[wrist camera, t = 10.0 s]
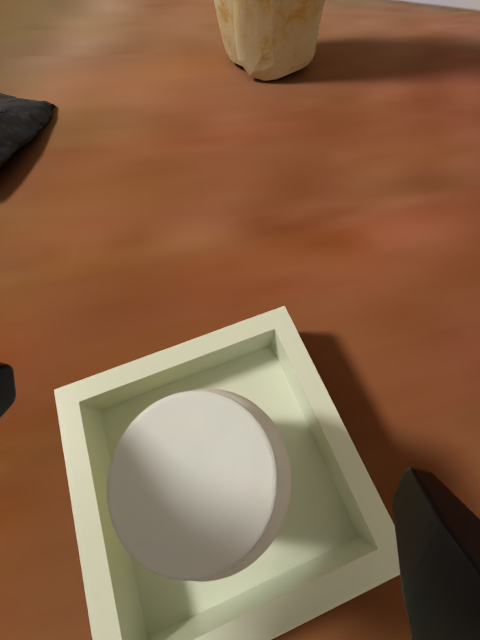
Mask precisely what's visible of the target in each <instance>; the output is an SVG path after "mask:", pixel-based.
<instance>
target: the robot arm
mask: <svg viewBox="0 0 480 640" xmlns="http://www.w3.org/2000/svg"><path fill="white" fill-rule="evenodd" d="M15 398H16V388H15V379H14V371H13V368H12V367H11V366H10V365H8V364H5V363H1V362H0V418H1V417H2V415H3V414H4V413H5V412H6V411H7V410H8V409H9V408H10V407H11V405H12V404H13V402H14V401H15ZM393 515H394V524H395V533H396V541H397V550H398V559H399V568H400V577H401V584H402V591H403V596H404V602H405V607H406V611H407V616H408V621H409V626H410V630H411V635H412V640H480V519H479V518H478V517H477V516H476V515H475V514H474V513H473V512H472V511H471V510H470V509H469V508H468V507H466V506H465V505H464V504H463V503H462V502H461V501H460V500H459V499H458V498H457V497H456V496H455V495H454V494H453V493H452V492H451V491H450V490H449V489H448V488H447V487H446V486H445V485H444V484H443V483H442V482H441V481H440V480H439V479H438V478H437V477H436V476H435V475H434V474H432V473H431V472H429V471H427V470H423V469H419V468H415V467H409V468H407V469H406V470H405V472H404V474H403V476H402V478H401V480H400V483H399V485H398V487H397V489H396V491H395V494H394V497H393Z"/></svg>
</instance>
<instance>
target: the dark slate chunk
mask: <svg viewBox="0 0 480 640" xmlns="http://www.w3.org/2000/svg"><path fill="white" fill-rule="evenodd" d="M54 107H55V105H53V104H51V103H49V102H46V101H36V100H28V99H20V98H16V97H14V96H9V95H6V94H2V93H0V167H1V165H2V164H3V163H5V162H6V161H7V160H8V159H9V158H10V157H11V156H12V155H13V154H14V152H15V151H17V150H18V149H20V148H21V147H22V146H24V145H25V144H27V143H28V142H30V140H31V139H32V138H33V137H35V135H36V134H37V133H38V132H39V131H40V130H41V129H42V128H43V127H45V126H46V125H47V124H48V122H49V118H50V117H51V115H52V112H51V109H53V108H54Z"/></svg>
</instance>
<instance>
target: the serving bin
mask: <svg viewBox="0 0 480 640" xmlns="http://www.w3.org/2000/svg"><path fill="white" fill-rule="evenodd" d="M198 389H220V390H225V391H229V392H233V393H236V394H238V395H240V396H243V397H245V398H247V399H248V400H250V401H252V402H253V403H254V404H256V405H257V406H258V407H259V408H261V409H262V410H263V411H264V412H265V413H266V414H267V415H268V416H269V417H270V419H271V420H272V421H273V423H274V424H275V426H276V427H277V429H278V430H279V432H280V434H281V436H282V438H283V441H284V443H285V446H286V449H287V452H288V456H289V460H290V466H291V478H292V483H291V495H290V501H289V506H288V510H287V513H286V516H285V519H284V521H283V524H282V526H281V528H280V530H279V532H278V534H277V536H276V537H275V539H274V541H273V542H272V543H271V545H270V546H269V547H268V549H267V550H266V551H265V552H264V553H263V554H262V555H261V556H260V557H259V558H258V559H257V560H256V561H255V562H253V563H252V564H251V565H250V566H248V567H247V568H245V569H244V570H242V571H240V572H238V573H236V574H234V575H232V576H229V577H226V578H223V579H219V580H214V581H205V582H198V581H181V580H174V579H169V578H166V577H163V576H160V575H157V574H155V573H153V572H151V571H149V570H148V569H146V568H144V567H143V566H142V565H141V564H139V563H138V562H137V561H136V560H135V559H134V558H133V557H132V556H131V555H130V554H129V553H128V551H127V550H126V549H125V548H124V546H123V545H122V543H121V542H120V540H119V538H118V536H117V534H116V532H115V529H114V527H113V524H112V521H111V517H110V514H109V509H108V502H107V479H108V473H109V468H110V464H111V460H112V457H113V455H114V452H115V449H116V447H117V445H118V443H119V441H120V439H121V437H122V435H123V434H124V432H125V431H126V429H127V428H128V427H129V425H130V424H131V423H132V422H133V420H134V419H135V418H136V417H137V416H138V415H139V414H140V413H142V412H143V411H144V410H145V409H146V408H148V407H149V406H150V405H152V404H153V403H155V402H157V401H159V400H161V399H163V398H165V397H167V396H170V395H172V394H175V393H180V392H184V391H192V390H198ZM54 392H55V399H56V405H57V412H58V418H59V425H60V431H61V438H62V444H63V451H64V457H65V464H66V470H67V477H68V483H69V490H70V497H71V503H72V510H73V516H74V523H75V529H76V536H77V542H78V549H79V555H80V562H81V568H82V575H83V581H84V588H85V594H86V601H87V607H88V614H89V620H90V627H91V633H92V640H272V639H274V638H276V637H278V636H280V635H282V634H284V633H286V632H288V631H290V630H292V629H294V628H295V627H297V626H299V625H301V624H303V623H305V622H307V621H309V620H311V619H313V618H315V617H317V616H319V615H321V614H323V613H325V612H327V611H329V610H331V609H333V608H335V607H337V606H339V605H341V604H343V603H345V602H347V601H349V600H351V599H353V598H355V597H357V596H359V595H361V594H362V593H364V592H366V591H368V590H370V589H372V588H374V587H376V586H378V585H380V584H382V583H384V582H386V581H388V580H390V579H392V578H394V577H396V576H398V575H400V568H399V559H398V550H397V541H396V533H395V526H394V524H393V522H392V520H391V518H390V516H389V514H388V512H387V510H386V508H385V506H384V504H383V502H382V500H381V498H380V496H379V494H378V492H377V490H376V488H375V486H374V484H373V482H372V480H371V478H370V476H369V474H368V472H367V470H366V468H365V466H364V464H363V462H362V460H361V458H360V456H359V454H358V452H357V450H356V448H355V446H354V444H353V442H352V440H351V438H350V436H349V434H348V432H347V430H346V428H345V426H344V424H343V422H342V420H341V418H340V416H339V414H338V412H337V410H336V408H335V406H334V404H333V402H332V400H331V398H330V396H329V394H328V392H327V390H326V388H325V386H324V384H323V382H322V380H321V378H320V376H319V374H318V372H317V370H316V368H315V366H314V364H313V362H312V360H311V358H310V356H309V354H308V352H307V350H306V348H305V346H304V344H303V342H302V340H301V338H300V336H299V334H298V332H297V330H296V328H295V326H294V324H293V322H292V320H291V318H290V316H289V314H288V312H287V310H286V308H285V306H282V307H280V308H277V309H274V310H272V311H269V312H266V313H263V314H261V315H258V316H255V317H252V318H250V319H247V320H244V321H241V322H239V323H236V324H233V325H230V326H228V327H225V328H222V329H219V330H217V331H214V332H211V333H209V334H206V335H203V336H200V337H198V338H195V339H192V340H189V341H187V342H184V343H181V344H178V345H176V346H173V347H170V348H167V349H165V350H162V351H159V352H156V353H154V354H151V355H148V356H146V357H143V358H140V359H137V360H135V361H132V362H129V363H126V364H124V365H121V366H118V367H115V368H113V369H110V370H107V371H104V372H102V373H99V374H96V375H93V376H91V377H88V378H85V379H83V380H80V381H77V382H74V383H72V384H69V385H66V386H63V387H61V388H58V389H55V390H54Z"/></svg>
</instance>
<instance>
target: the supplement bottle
mask: <svg viewBox="0 0 480 640" xmlns="http://www.w3.org/2000/svg"><path fill="white" fill-rule="evenodd" d="M291 483H292V478H291V466H290V460H289V456H288V452H287V449H286V446H285V443H284V441H283V438H282V436H281V434H280V432H279V430H278V429H277V427H276V426H275V424H274V423H273V421H272V420H271V419H270V417H269V416H268V415H267V414H266V413H265V412H264V411H263V410H262V409H261V408H259V407H258V406H257V405H256V404H254V403H253V402H252V401H250V400H248V399H247V398H245V397H243V396H240V395H238V394H236V393H233V392H229V391H225V390H220V389H198V390H192V391H184V392H180V393H175V394H172V395H170V396H167V397H165V398H163V399H161V400H159V401H157V402H155V403H153V404H152V405H150V406H149V407H148V408H146V409H145V410H144V411H143V412H142V413H140V414H139V415H138V416H137V417H136V418H135V419H134V420H133V422H132V423H131V424H130V425H129V427H128V428H127V429H126V431H125V432H124V434H123V435H122V437H121V439H120V441H119V443H118V445H117V447H116V449H115V452H114V455H113V457H112V460H111V464H110V468H109V473H108V479H107V502H108V509H109V514H110V517H111V521H112V524H113V527H114V529H115V532H116V534H117V536H118V538H119V540H120V542H121V543H122V545H123V546H124V548H125V549H126V550H127V551H128V553H129V554H130V555H131V556H132V557H133V558H134V559H135V560H136V561H137V562H138V563H139V564H141V565H142V566H143V567H144V568H146V569H148V570H149V571H151V572H153V573H155V574H157V575H160V576H163V577H166V578H169V579H174V580H181V581H198V582H205V581H214V580H219V579H223V578H226V577H229V576H232V575H234V574H236V573H238V572H240V571H242V570H244V569H245V568H247V567H248V566H250V565H251V564H252V563H253V562H255V561H256V560H257V559H258V558H259V557H260V556H261V555H262V554H263V553H264V552H265V551H266V550H267V549H268V547H269V546H270V545H271V543H272V542H273V541H274V539H275V537H276V536H277V534H278V532H279V530H280V528H281V526H282V524H283V521H284V519H285V516H286V513H287V510H288V506H289V501H290V495H291Z"/></svg>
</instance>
